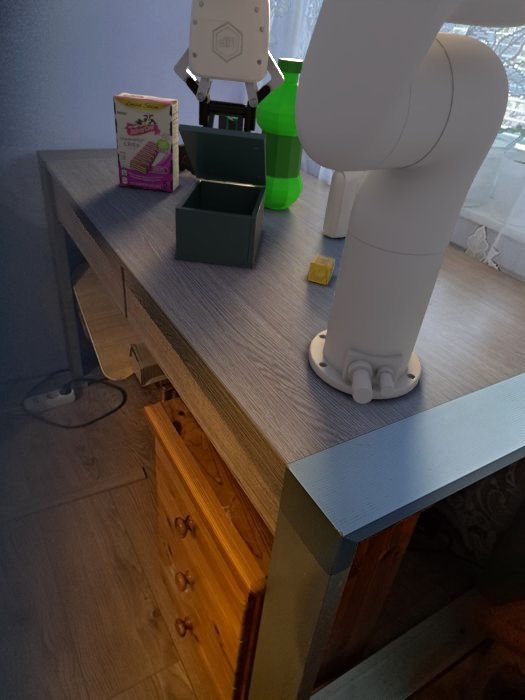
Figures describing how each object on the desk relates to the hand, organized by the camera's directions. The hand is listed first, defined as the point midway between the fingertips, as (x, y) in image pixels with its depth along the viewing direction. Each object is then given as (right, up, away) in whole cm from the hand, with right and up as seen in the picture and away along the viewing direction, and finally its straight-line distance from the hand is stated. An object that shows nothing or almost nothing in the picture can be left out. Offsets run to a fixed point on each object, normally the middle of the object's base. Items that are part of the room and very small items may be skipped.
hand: (227, 132), depth 69 cm
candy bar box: (-18, +2, +30) cm, 35 cm away
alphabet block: (+14, -21, +3) cm, 25 cm away
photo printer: (+21, -10, +19) cm, 30 cm away
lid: (0, -3, +3) cm, 4 cm away
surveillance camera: (0, +11, +45) cm, 46 cm away
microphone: (-9, +6, +37) cm, 39 cm away
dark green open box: (-1, -14, +10) cm, 17 cm away
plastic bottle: (+8, -2, +28) cm, 29 cm away
